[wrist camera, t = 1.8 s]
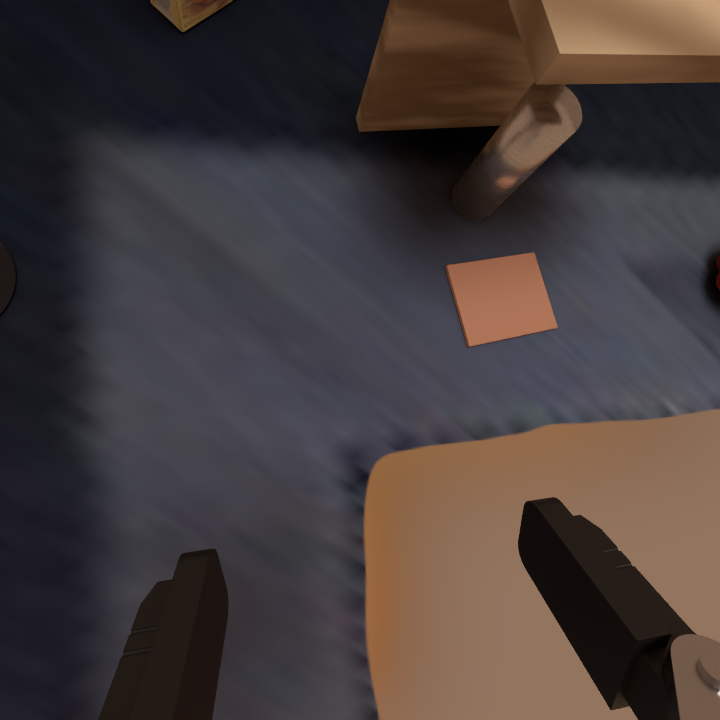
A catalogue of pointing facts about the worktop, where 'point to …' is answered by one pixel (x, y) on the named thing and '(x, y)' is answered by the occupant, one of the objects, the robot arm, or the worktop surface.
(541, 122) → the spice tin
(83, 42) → the worktop surface
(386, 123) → the oak shelf
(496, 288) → the terracotta mat
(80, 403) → the worktop surface
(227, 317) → the worktop surface
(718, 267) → the vegetable
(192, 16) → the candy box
